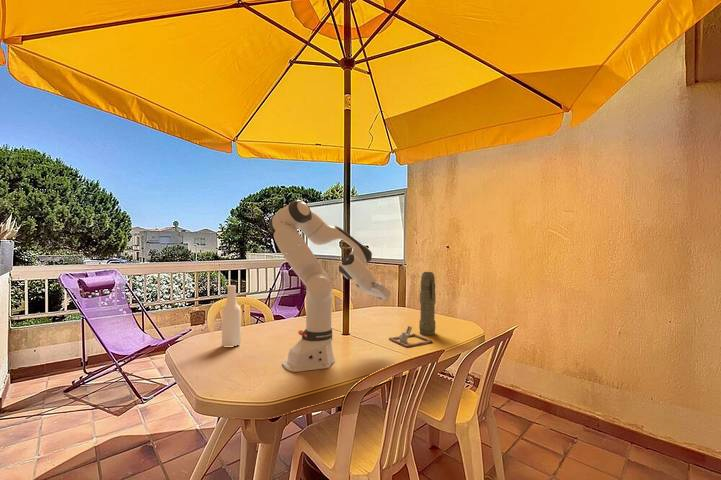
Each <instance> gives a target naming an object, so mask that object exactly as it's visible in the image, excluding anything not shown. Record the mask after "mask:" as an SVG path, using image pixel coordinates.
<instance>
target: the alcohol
mask: <svg viewBox="0 0 721 480" xmlns="http://www.w3.org/2000/svg"><path fill="white" fill-rule="evenodd" d="M236 287H237V285H235V284H230V285H227V296H226V303H225V305H224V306H223V307H222V311H221V346H222V345H223V346H237V345H239V344H240V345H241V343H242V309H241V306H240V305H239V304H238V300H237V292H236V291H237V288H236ZM240 345H239V346H240ZM223 346H222V347H223Z"/></svg>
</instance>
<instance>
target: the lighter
mask: <svg viewBox="0 0 721 480" xmlns="http://www.w3.org/2000/svg"><path fill="white" fill-rule="evenodd" d="M412 329H413V327H412V326H409V325H407V329H406V332H405V331H403V332H401V333H400V334H399V336H400V339H399V342H402V343H404V344H407V343H408V338H409V337H408V335H410V334H411V332H412Z"/></svg>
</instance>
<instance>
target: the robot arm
mask: <svg viewBox="0 0 721 480" xmlns="http://www.w3.org/2000/svg"><path fill="white" fill-rule="evenodd" d="M268 226H269V227H268V228H269V230H270V232H271V233H272V235H273V239H274V241H275V244H276V246H277V248H278V250H279V251H280V253H281V254H282V256H283V258H284V259H285V260H286V262H287V263H288V265H289V266H290V268H291V269H292V270H293V272H294V273H295V274H296V276H298V278H299V280H301V282H302V284H303V285H304V286H305V288H306V289H305V292H306V293H305V301H306V302H305V303H306V304H305V305H306V306H305V309H306V310H305V312H306V313H305V329H304V331H303V330H302V329H298V331H297V333H298V335H299V336H301V338H300V339H299V340H298V341H297V342H296V343H295V344H294V345H292V346H291V347H290V348H289V350H288V353H287V354H288V355H287V358H284V359H283V360H282V366H283V368H284V369H286V370H287V371H289V372H292V373H296V372H305V371H306V372H307V371H313V370H322V369H329V368H330V367H331V365H333V364H334V363H335V361H336V360H335V356H334V352H333V343H332V341H333V328H332V310H333V309H332V306H333V289H334V288H333V287H334V286H333V281H332V280H331V278H330V276H329V274H328V273H327V272H326V270H325V269H324V266H322V264H321V263H320V262H319V260H318V259H317V257H316V256H315V255H314V253H313V251H312V250H311V248H310V247H309V245H308V244H307V243H306V241H305V240H304V238H303V236H302V235H300V233H299V232H298V229H300V231H301V232H302V233H303V235H305V237H306V238H307V239H308V240H309V241H310V242H312V243H313V244H314V245H318V246H322V245H327V244H330V243H331V242H333V241H336V240H342V241H343V242H344V243H346V244H347V245H348V246H350V247H351V248H352V251H351V252H349V254H347V255H345V256H344V257H343V259H342V261H341V262H340V263H339V264H338V272H339V273H341V275H343V277H344V278H345V279H346V280H354V281H355V283H354V285H355V286H356V287H357V288H359V289H360V290H361V291H362V292H363V293H365V294H367V295H369V296H370V295H371V296H374V297H375V298H377V299H378V301H384V302H385V303H386V302H388V301H389V298H390V297H391V296H392V292H391V290H389V289H388V288H387V287H386V286H385V285H384V284H382V283H380V282H377V276H375V275H374V273H373V272H371V270H370V269H368V268H367V266H366V265H368V264H369V263H370V262H371V261H372V259H373V258H372V256H373V252H372V251H371V250H370V249H369V248H368V247H367V246H365V245H363V244H362V243H360V242H359V241H358V240H357V239H355V238H354V237H353V236H352V235H351V234H350V233H348V232H347V231H345V230H344V229H342V227H339V226H337V225H329V224H328V223H327V222H325V221H324V220H323V219H322V217H320V215H318V214H317V213H316V212H315V211H313V210H312V209H311V208H310V206H309V205H308V203H306V202H305V201H303V200H301V199H295V200H293V201H291V202H289V204H287V205H286V206H284V207H282V208H280V209H279V210H278V211H277V212H276V213H275V214H273V215H272V216H271V217H270V219H269V222H268Z"/></svg>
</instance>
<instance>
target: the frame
mask: <svg viewBox="0 0 721 480" xmlns="http://www.w3.org/2000/svg"><path fill="white" fill-rule="evenodd" d="M411 337H414V338H416V339H420V340H422V341H420V342H416V343H414V342H413V343H409V344H407V343H402V342H400V335H399V336H394V337H389V338H388V341H391V342H392V343H395V344H397V345H399V346H401V347H404V348H406V349H407V348H412V347H418V346H422V345H423V346H424V345H428V344H432V343H433V340H431V339H428V338H426V337H424V336H421V335H418V334H415V333H410V335H408V338H411Z"/></svg>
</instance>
